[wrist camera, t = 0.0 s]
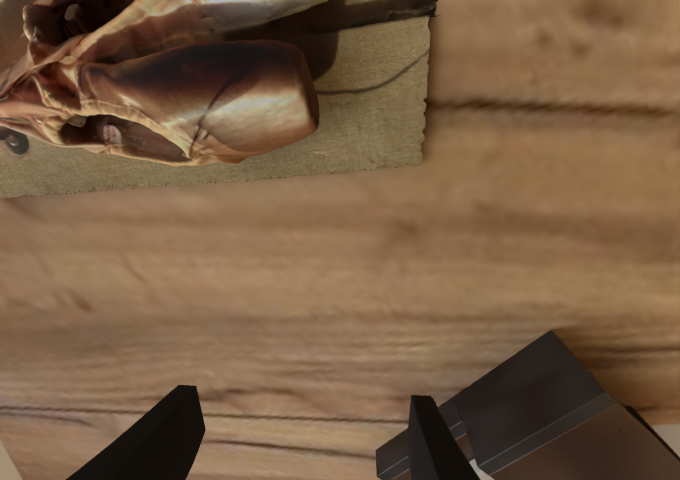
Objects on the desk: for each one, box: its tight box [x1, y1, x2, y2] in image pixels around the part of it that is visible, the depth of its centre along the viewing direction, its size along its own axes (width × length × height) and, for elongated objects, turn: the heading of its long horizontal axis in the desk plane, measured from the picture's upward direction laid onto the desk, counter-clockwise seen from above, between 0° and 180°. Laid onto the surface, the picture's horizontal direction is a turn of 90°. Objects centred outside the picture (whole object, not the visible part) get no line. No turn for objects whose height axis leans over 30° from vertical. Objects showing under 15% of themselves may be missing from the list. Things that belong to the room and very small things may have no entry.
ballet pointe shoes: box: [0, 0, 440, 199], centre depth 13 cm, size 14×7×28 cm
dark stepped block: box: [376, 331, 680, 480], centre depth 22 cm, size 16×10×5 cm, turn 138°
